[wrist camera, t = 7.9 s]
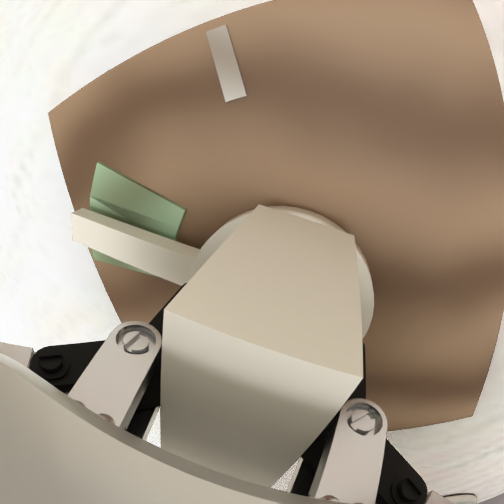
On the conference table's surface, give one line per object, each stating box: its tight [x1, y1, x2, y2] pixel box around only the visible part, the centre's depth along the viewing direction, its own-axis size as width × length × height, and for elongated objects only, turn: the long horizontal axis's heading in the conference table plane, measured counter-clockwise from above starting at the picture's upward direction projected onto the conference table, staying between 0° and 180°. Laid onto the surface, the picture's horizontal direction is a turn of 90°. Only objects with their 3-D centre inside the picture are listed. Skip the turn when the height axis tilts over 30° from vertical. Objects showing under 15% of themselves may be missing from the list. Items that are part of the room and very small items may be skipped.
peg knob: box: [72, 204, 374, 488], centre depth 9 cm, size 14×7×7 cm, turn 77°
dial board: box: [48, 0, 504, 431], centre depth 13 cm, size 22×20×1 cm
